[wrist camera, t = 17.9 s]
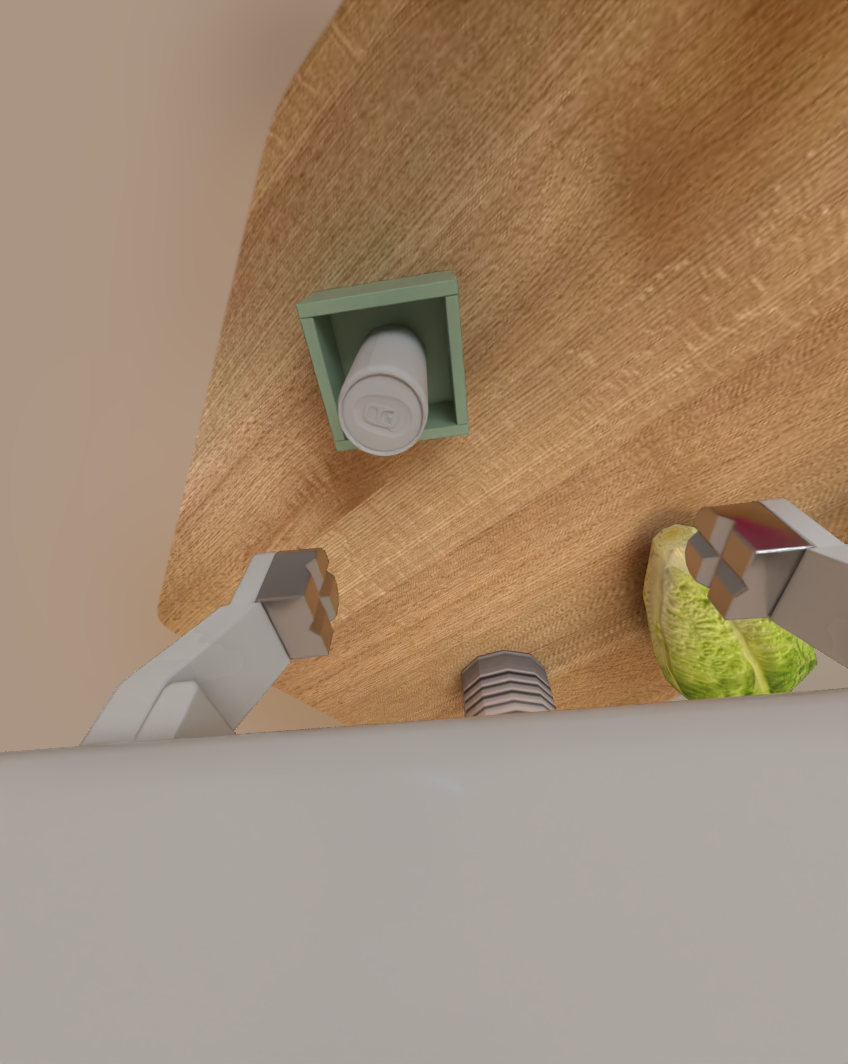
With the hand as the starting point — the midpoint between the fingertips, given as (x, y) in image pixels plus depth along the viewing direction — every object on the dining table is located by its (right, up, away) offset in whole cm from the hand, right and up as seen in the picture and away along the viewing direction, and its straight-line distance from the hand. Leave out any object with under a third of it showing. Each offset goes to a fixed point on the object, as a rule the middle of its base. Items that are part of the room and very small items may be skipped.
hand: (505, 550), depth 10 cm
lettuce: (+26, -4, +36) cm, 45 cm away
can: (+9, -19, +47) cm, 51 cm away
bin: (-4, +14, +22) cm, 27 cm away
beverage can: (-4, +14, +22) cm, 26 cm away
